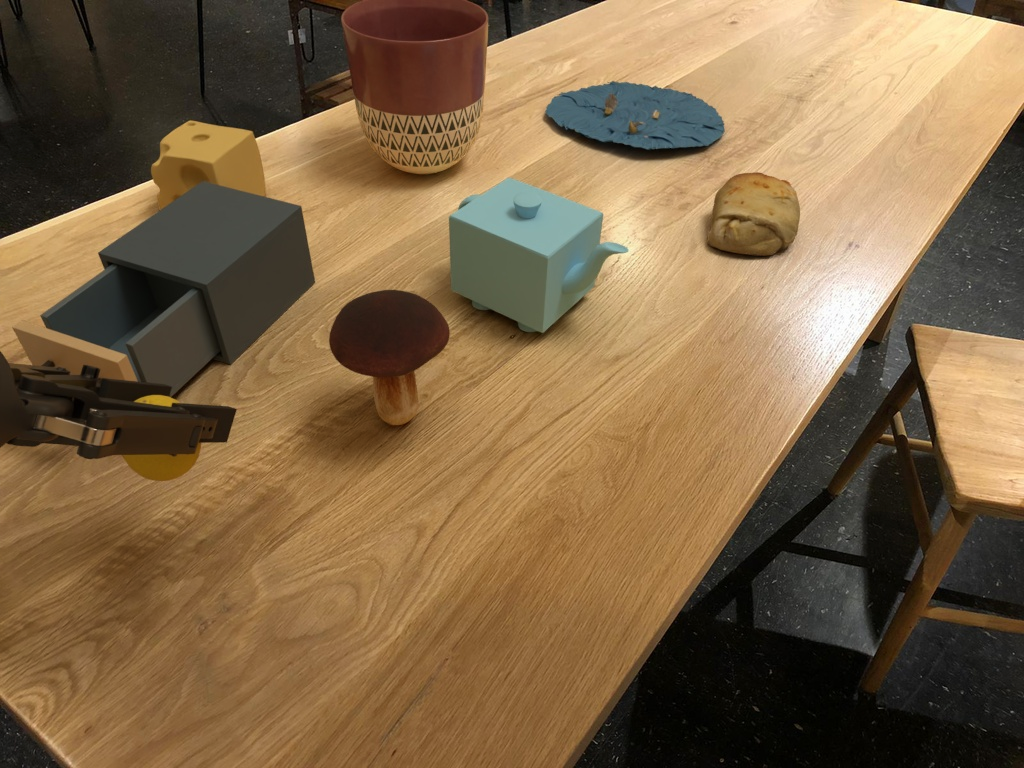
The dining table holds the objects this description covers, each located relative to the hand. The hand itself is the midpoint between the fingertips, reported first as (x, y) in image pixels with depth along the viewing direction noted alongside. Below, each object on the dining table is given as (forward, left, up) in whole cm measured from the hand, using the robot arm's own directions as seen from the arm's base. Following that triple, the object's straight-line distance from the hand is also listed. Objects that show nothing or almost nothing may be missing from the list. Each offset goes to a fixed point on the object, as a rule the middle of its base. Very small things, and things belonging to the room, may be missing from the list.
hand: (194, 412), depth 60 cm
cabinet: (-19, +24, -12) cm, 33 cm away
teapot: (+14, +39, -12) cm, 44 cm away
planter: (-14, +65, -12) cm, 68 cm away
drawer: (-19, +9, -11) cm, 24 cm away
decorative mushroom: (+8, +16, -12) cm, 22 cm away
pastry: (+35, +66, -12) cm, 76 cm away
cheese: (-34, +42, -12) cm, 55 cm away
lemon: (0, -4, -4) cm, 5 cm away
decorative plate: (+11, +94, -12) cm, 96 cm away
